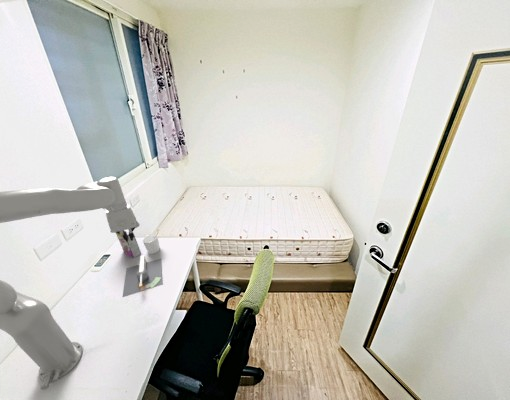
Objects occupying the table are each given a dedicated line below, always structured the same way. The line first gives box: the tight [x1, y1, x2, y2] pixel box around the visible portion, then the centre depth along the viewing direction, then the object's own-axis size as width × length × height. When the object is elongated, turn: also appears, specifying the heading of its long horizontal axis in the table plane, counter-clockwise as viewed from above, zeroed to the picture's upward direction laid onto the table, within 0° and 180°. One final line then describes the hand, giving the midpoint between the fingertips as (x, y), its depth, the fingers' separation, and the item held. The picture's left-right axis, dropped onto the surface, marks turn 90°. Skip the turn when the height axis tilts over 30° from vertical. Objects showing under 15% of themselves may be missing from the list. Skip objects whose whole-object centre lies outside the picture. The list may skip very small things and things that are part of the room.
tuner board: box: [122, 258, 164, 298], centre depth 115 cm, size 20×18×1 cm
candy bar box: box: [115, 229, 142, 258], centre depth 128 cm, size 11×5×16 cm, turn 58°
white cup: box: [142, 233, 161, 255], centre depth 131 cm, size 8×8×10 cm
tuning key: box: [136, 254, 149, 287], centre depth 114 cm, size 22×5×4 cm, turn 23°
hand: (129, 239), depth 103 cm, fingers closed
